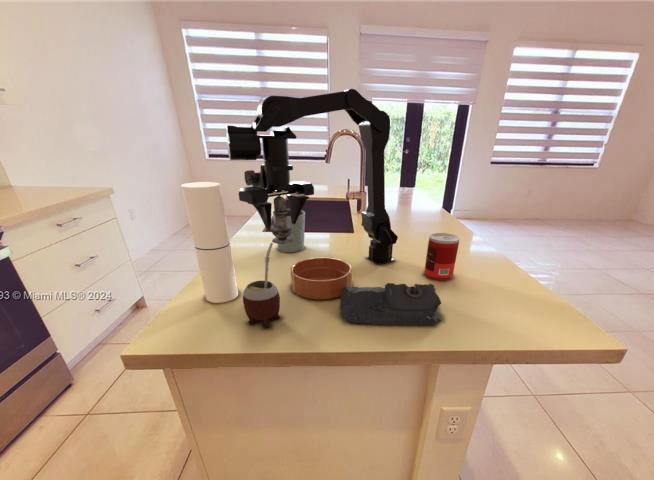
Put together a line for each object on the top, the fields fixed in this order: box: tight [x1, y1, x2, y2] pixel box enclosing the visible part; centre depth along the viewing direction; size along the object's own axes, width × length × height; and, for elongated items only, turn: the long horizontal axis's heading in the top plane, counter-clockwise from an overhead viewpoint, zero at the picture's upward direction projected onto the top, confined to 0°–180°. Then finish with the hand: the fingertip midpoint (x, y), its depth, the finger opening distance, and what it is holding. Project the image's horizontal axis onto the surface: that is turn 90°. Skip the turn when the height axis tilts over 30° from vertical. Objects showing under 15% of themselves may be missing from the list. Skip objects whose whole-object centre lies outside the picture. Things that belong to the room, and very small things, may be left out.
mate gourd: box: [242, 242, 281, 329], centre depth 62 cm, size 8×8×15 cm
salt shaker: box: [270, 195, 293, 245], centre depth 79 cm, size 6×6×12 cm
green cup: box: [272, 208, 306, 253], centre depth 102 cm, size 10×10×12 cm
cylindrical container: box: [180, 181, 239, 304], centre depth 68 cm, size 7×7×25 cm
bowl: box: [289, 257, 353, 300], centre depth 78 cm, size 15×15×5 cm
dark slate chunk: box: [339, 282, 443, 327], centre depth 70 cm, size 15×22×5 cm
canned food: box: [424, 232, 460, 281], centre depth 85 cm, size 8×8×11 cm
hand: (281, 226), depth 80 cm, fingers closed on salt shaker, 8 cm apart
